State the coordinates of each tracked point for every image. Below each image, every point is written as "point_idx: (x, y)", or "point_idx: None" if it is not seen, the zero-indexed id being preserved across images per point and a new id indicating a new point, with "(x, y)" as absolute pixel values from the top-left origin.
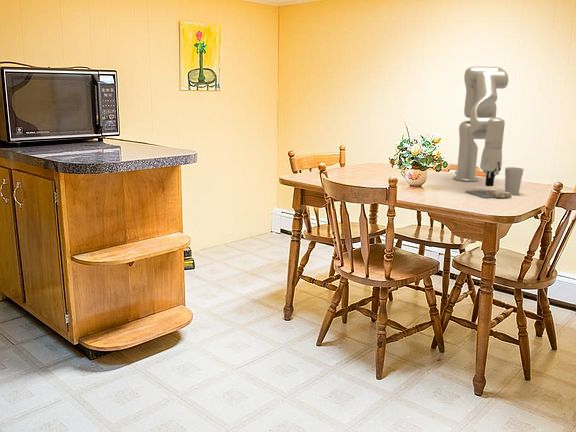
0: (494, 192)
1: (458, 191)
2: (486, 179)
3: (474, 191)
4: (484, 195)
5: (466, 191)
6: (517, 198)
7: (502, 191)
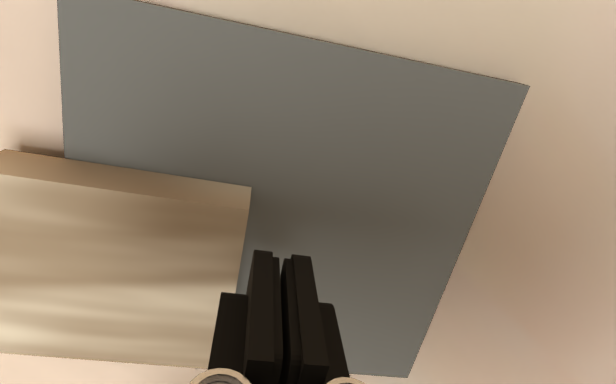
0: (56, 187)
1: (610, 29)
2: (300, 328)
3: (445, 170)
4: (176, 91)
5: (511, 81)
6: (23, 361)
7: (111, 328)
